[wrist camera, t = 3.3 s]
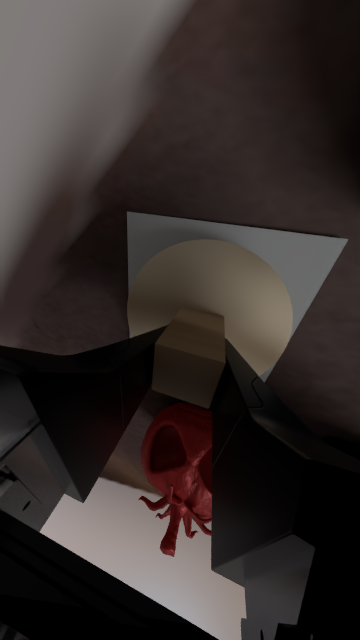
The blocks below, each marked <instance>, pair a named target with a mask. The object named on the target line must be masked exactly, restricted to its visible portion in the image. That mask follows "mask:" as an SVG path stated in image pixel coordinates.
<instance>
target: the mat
mask: <svg viewBox="0 0 360 640" xmlns="http://www.w3.org/2000/svg"><path fill="white" fill-rule="evenodd" d="M127 237H128V284H129V292H130V289H131V286H132V284H133V282H134V280H135V277H136V276H137V274H138V273H139V271H140V270H141V268H142V267H143V266H144V265H145V264H146V263H147V262H148V261H149V260H150V259H151V258H153V257H154V256H155V255H156V254H158V253H159V252H161V251H163V250H165V249H166V248H168V247H171V246H173V245H176V244H178V243H182V242H186V241H191V240H201V239H209V240H220V241H225V242H229V243H233V244H236V245H238V246H241V247H244V248H246V249H248V250H250V251H251V252H253V253H255V254H257V255H258V256H259V257H261V258H262V259H263V260H264V261H266V262H267V263H268V264H269V265H270V266H271V267H272V268H273V269H274V270H275V272H276V273H277V274H278V275H279V277H280V278H281V280H282V282H283V283H284V285H285V287H286V289H287V292H288V294H289V296H290V300H291V305H292V311H293V324H292V332H291V335H290V338H291V337H292V335H293V333H294V332H295V330H296V328H297V326H298V325H299V323H300V321H301V320H302V318H303V316H304V314H305V313H306V311H307V309H308V308H309V306H310V304H311V302H312V301H313V299H314V297H315V296H316V294H317V292H318V290H319V289H320V287H321V285H322V284H323V282H324V280H325V278H326V277H327V275H328V273H329V272H330V270H331V268H332V266H333V265H334V263H335V261H336V260H337V258H338V256H339V254H340V253H341V251H342V249H343V248H344V246H345V244H346V243H347V241H348V239H341V238H333V237H325V236H318V235H310V234H302V233H294V232H286V231H278V230H270V229H262V228H254V227H246V226H238V225H230V224H222V223H215V222H207V221H199V220H191V219H183V218H175V217H167V216H159V215H151V214H143V213H135V212H127ZM129 331H130V328H129ZM130 338H132V334H131V331H130ZM290 338H289V340H290ZM277 361H278V360H277ZM277 361H276V362H277ZM276 362H275V364H276ZM275 364H274V365H273V366H272V367H271V368H269V369H268V370H267V371H266V372H265V373H263V374H262V375H260V376H259V377H260V378H261V379H262V380H263V381H264V383H265V381H266V379H267V378H268V376H269V374H270V373H271V371H272V369H273V367H274V366H275Z"/></svg>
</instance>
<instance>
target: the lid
mask: <svg viewBox="0 0 360 640" xmlns="http://www.w3.org/2000/svg"><path fill="white" fill-rule="evenodd" d="M127 317H128V324H129V328H130V331H131V334H132V337H135V336H137V335H140V334H143V333H146V332H149V331H152V330H154V329H157V328H160V327H163V326H166V325H168V326H167V328H166V329H165V330H164V332H163V333H162V335H161V336H160V337H159V339H158V340H157V341H156V343H155V352H154V366H153V380H152V390H154V391H157V392H160V393H163V394H166V395H169V396H172V397H175V398H178V399H181V400H184V401H187V402H190V403H193V404H196V405H199V406H201V407H204V408H207V409H209V407H210V404H211V401H212V399H213V396H214V393H215V390H216V388H217V385H218V382H219V380H220V377H221V374H222V371H223V369H224V366H225V363H226V361H225V338H226V339H228V340H229V342H230V343H231V344H232V345H233V346H234V348H235V349H236V350H237V351H238V352H239V353H240V355H241V356H242V357H243V358H244V359H245V360H246V362H247V363H248V364H249V365H250V366H251V367H252V369H253V370H254V371H255V372H256V373H257V374H258V376H260V375H262V374H263V373H265V372H266V371H267V370H268V369H269V368H271V367H272V366H273V365H274V364H275V362H276V361H277V360H278V359H279V358H280V356H281V355H282V353H283V352H284V350H285V348H286V346H287V344H288V342H289V338H290V335H291V332H292V324H293V311H292V305H291V300H290V296H289V294H288V292H287V289H286V287H285V285H284V283H283V282H282V280H281V278H280V277H279V275H278V274H277V273H276V272H275V270H274V269H273V268H272V267H271V266H270V265H269V264H268V263H267V262H266V261H264V260H263V259H262V258H261V257H259V256H258V255H257V254H255V253H253V252H251V251H250V250H248V249H246V248H244V247H241V246H238V245H236V244H233V243H229V242H225V241H220V240H209V239H201V240H191V241H186V242H182V243H178V244H176V245H173V246H171V247H168V248H166V249H165V250H163V251H161V252H159V253H158V254H156V255H155V256H154V257H153V258H151V259H150V260H149V261H148V262H147V263H146V264H145V265H144V266H143V267H142V268H141V270H140V271H139V273H138V274H137V276H136V277H135V280H134V282H133V284H132V286H131V289H130V292H129V296H128V302H127Z"/></svg>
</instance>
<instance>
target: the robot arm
mask: <svg viewBox="0 0 360 640" xmlns="http://www.w3.org/2000/svg"><path fill="white" fill-rule="evenodd" d="M167 326H168V325H166V326H163V327H160V328H157V329H154V330H152V331H149V332H146V333H143V334H140V335H137V336H135V337H132V338H129V339H126V340H123V341H120V342H117V343H114V344H111V345H108V346H104V347H100V348H97V349H93V350H89V351H86V352H82V353H78V354H74V355H65V356H62V355H54V354H48V353H42V352H36V351H30V350H24V349H18V348H13V347H6V346H1V345H0V640H218V639H217V638H215V637H214V636H212V635H210V634H209V633H207V632H205V631H204V630H202V629H201V628H199V627H197V626H196V625H194V624H192V623H191V622H189V621H187V620H186V619H184V618H182V617H181V616H179V615H177V614H176V613H174V612H172V611H170V610H169V609H167V608H166V607H164V606H162V605H161V604H159V603H157V602H156V601H154V600H152V599H150V598H149V597H147V596H145V595H144V594H142V593H140V592H139V591H137V590H135V589H133V588H132V587H130V586H128V585H127V584H125V583H123V582H122V581H120V580H119V579H117V578H115V577H114V576H112V575H110V574H108V573H107V572H105V571H103V570H102V569H100V568H98V567H97V566H95V565H93V564H92V563H90V562H88V561H87V560H85V559H83V558H82V557H80V556H78V555H77V554H75V553H73V552H72V551H70V550H68V549H67V548H65V547H63V546H61V545H60V544H58V543H56V542H55V541H53V540H51V539H50V538H48V537H46V536H45V535H43V534H41V533H40V530H41V528H42V527H43V525H44V524H45V522H46V521H47V519H48V518H49V516H50V515H51V513H52V512H53V510H54V509H55V507H56V506H57V504H58V502H59V501H60V499H61V498H62V496H63V495H64V493H65V494H67V495H68V496H71V497H72V498H74V499H76V500H78V501H80V502H82V503H84V501H85V500H86V498H87V496H88V495H89V493H90V491H91V489H92V488H93V486H94V484H95V482H96V481H97V479H98V477H99V475H100V474H101V472H102V470H103V468H104V467H105V465H106V463H107V461H108V460H109V458H110V456H111V454H112V453H113V451H114V449H115V447H116V446H117V444H118V442H119V440H120V438H121V437H122V435H123V433H124V431H125V430H126V428H127V426H128V424H129V423H130V421H131V419H132V417H133V415H134V414H135V412H136V410H137V408H138V407H139V405H140V403H141V401H142V400H143V398H144V396H145V394H146V393H147V391H148V389H149V387H150V386H151V384H152V380H153V366H154V352H155V343H156V341H157V340H158V339H159V337H160V336H161V335H162V333H163V332H164V330H165V329H166V328H167ZM225 361H226V363H225V366H224V369H223V371H222V374H221V377H220V380H219V382H218V385H217V388H216V390H215V393H214V396H213V401H212V533H211V537H212V538H211V541H212V542H211V545H212V546H211V569H212V571H214V572H216V573H218V574H220V575H222V576H223V577H225V578H227V579H229V580H231V581H233V582H235V583H237V584H239V585H241V586H243V587H245V600H246V616H247V619H245V618H242V619H241V636H242V640H360V446H357V445H354V444H351V443H348V442H345V441H342V440H338V439H335V438H331V437H328V438H325V439H324V440H322V439H320V438H319V437H318V436H317V435H315V434H314V433H313V432H312V431H311V430H310V429H309V428H308V427H307V426H306V425H305V424H304V423H303V422H302V421H301V420H300V419H299V418H298V417H297V416H296V415H295V414H294V413H293V412H292V411H291V410H290V409H289V408H288V407H287V406H286V405H285V404H284V403H283V402H282V401H281V400H280V399H279V398H278V397H277V396H276V395H275V394H274V393H273V392H272V390H271V389H270V388H269V387H268V386H267V385H266V384H265V383H264V381H263V380H262V379H261V378H260V377H259V376H258V374H257V373H256V372H255V371H254V370H253V369H252V367H251V366H250V365H249V364H248V363H247V362H246V360H245V359H244V358H243V357H242V356H241V355H240V353H239V352H238V351H237V350H236V349H235V348H234V346H233V345H232V344H231V343H230V342H229V340H228V339H226V338H225Z"/></svg>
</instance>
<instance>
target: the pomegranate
mask: <svg viewBox="0 0 360 640" xmlns="http://www.w3.org/2000/svg"><path fill="white" fill-rule="evenodd" d="M141 464H142V468H143V471H144V473H145V476H146V478H147V480H148V482H149V483H150V484H151V485H152V486H154V487H155V489H156V490H157V491H158V493H159V494H160V495H161V496H163V498H161V499H160V500H158V501H157V502H155V503H153V502H151V501H150V500H148V499H147V498H146V497H144V496H141V497H140V498H139V500H140V499H141V500H142V501H144V502H145V503H146V505H147V506H148V508H149V509H150V510H152V511H156V510H158V509H162V508H164V507H165V506H166V505H167V504H169V503H170V505H169V507H168V509H167V510H166V511H165V513H164V514H162V515H161V514H160V513H158V514H157V515H156V517H157V516H159V518H160V519H163V518H164V517H166V516H168V515H170V522H169V526H168V529H167V532H166V534H165V536H164V538H163V540H162V541H161V545H160V549H161V551H162V552H163V554H166V555H171V556H173V557H174V554H175V548H176V546H175V545H176V539H177V533H178V528H179V523H180V521H181V518H183V522H184V526H185V533H186V536H187V537H189V538H193V536H194V535H195V533H196V532H197V531H191V524H192V519H193V520H194V521H195V522H196V523H197V525H198V526H199V527H200V528H201V530H202V531H203V532H204V533H205V534H207V535H210V536H211V533H212V531H211V530H209V529H207V528H206V526H205V525H204V524H205V523H209V522H211V521H212V411H211V410H208V409H206V408H202V407H200V406H197V405H193V404H191V403H176V404H173V405H170V406H168V407H166V408H164V409H162V410H161V411H160V412H159V413H158V414H157V416H156V417H155V419H154V420H153V422H152V423H151V425H150V426H149V428H148V430H147V432H146V434H145V438H144V440H143V443H142V447H141Z"/></svg>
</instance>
